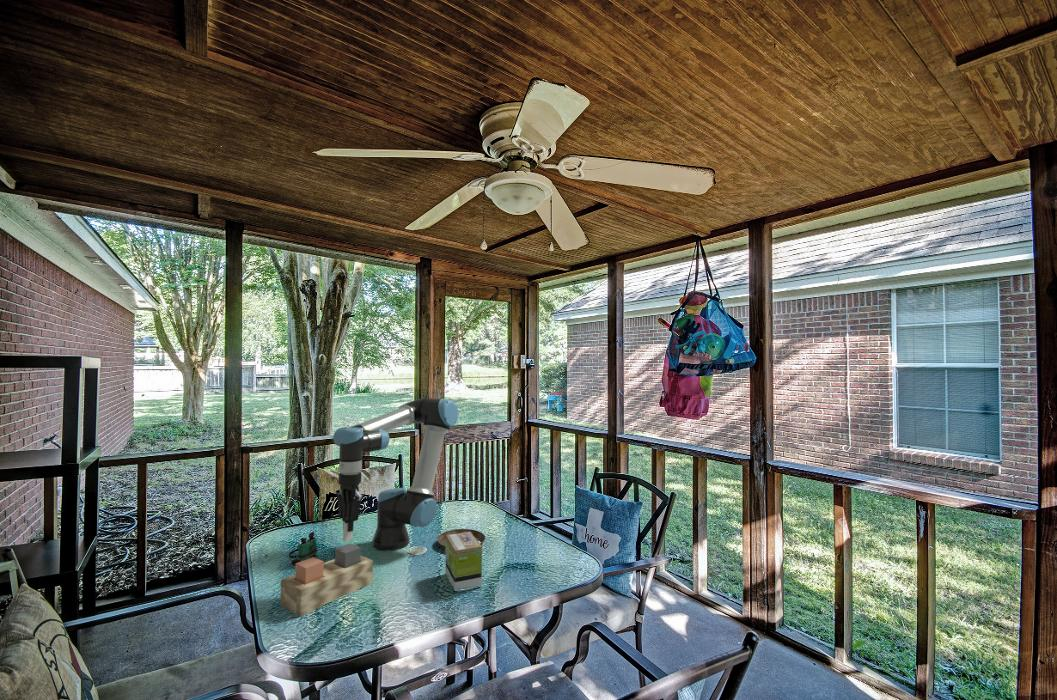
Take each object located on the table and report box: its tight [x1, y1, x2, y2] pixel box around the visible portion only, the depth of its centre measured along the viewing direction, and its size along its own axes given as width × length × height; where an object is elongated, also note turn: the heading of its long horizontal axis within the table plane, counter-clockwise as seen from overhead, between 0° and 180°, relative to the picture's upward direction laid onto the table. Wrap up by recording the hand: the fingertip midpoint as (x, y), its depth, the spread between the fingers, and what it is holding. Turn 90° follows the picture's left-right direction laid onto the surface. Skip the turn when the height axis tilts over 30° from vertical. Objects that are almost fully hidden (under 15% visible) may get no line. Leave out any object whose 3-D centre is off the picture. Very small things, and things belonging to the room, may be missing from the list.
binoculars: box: [288, 532, 318, 565], centre depth 176 cm, size 9×11×10 cm
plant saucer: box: [436, 528, 486, 550], centre depth 195 cm, size 21×21×3 cm
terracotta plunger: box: [294, 557, 325, 585], centre depth 146 cm, size 6×6×8 cm
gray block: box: [334, 543, 362, 568], centre depth 158 cm, size 6×6×8 cm
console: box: [279, 555, 374, 618], centre depth 152 cm, size 26×12×8 cm, turn 146°
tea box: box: [444, 532, 483, 591], centre depth 163 cm, size 15×10×15 cm, turn 23°
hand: (347, 540), depth 158 cm, fingers closed
